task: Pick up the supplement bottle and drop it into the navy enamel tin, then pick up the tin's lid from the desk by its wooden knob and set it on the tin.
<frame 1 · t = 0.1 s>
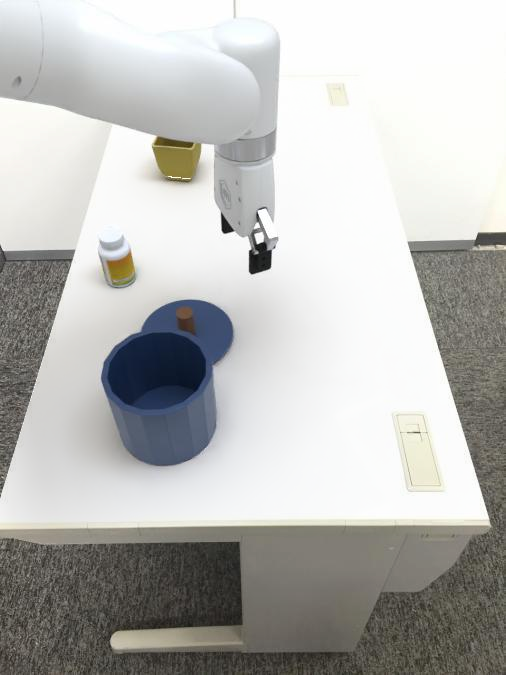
hand: (245, 250, 77), 15 cm above the table, tool pointing down, fingers open, 9 cm apart
tin lid: (187, 334, 86), point 1 cm above the table
supplement bottle: (121, 278, 95), on the table
tin: (168, 422, 75), on the table
flower pot: (181, 175, 117), on the table
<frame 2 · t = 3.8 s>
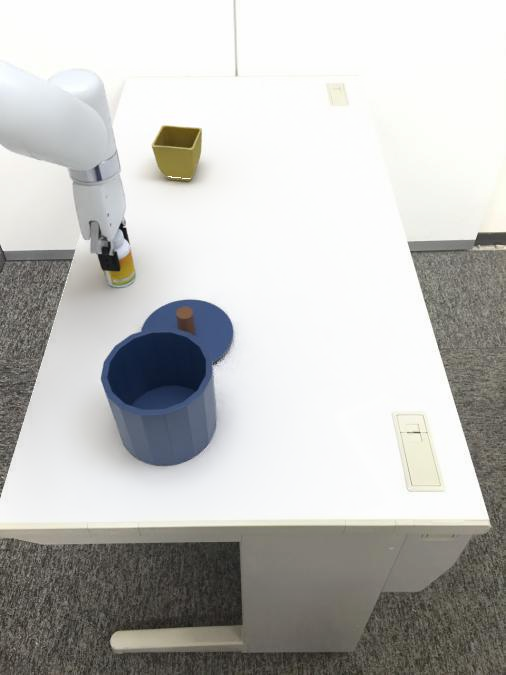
hand: (116, 257, 91), 5 cm above the table, tool pointing down, fingers closed on supplement bottle, 5 cm apart
supplement bottle: (121, 278, 95), on the table, touching gripper
everything else where it was.
when the fingers open (12 cm above the table, at t = 11.4 s): supplement bottle drops 7 cm, resting on tin.
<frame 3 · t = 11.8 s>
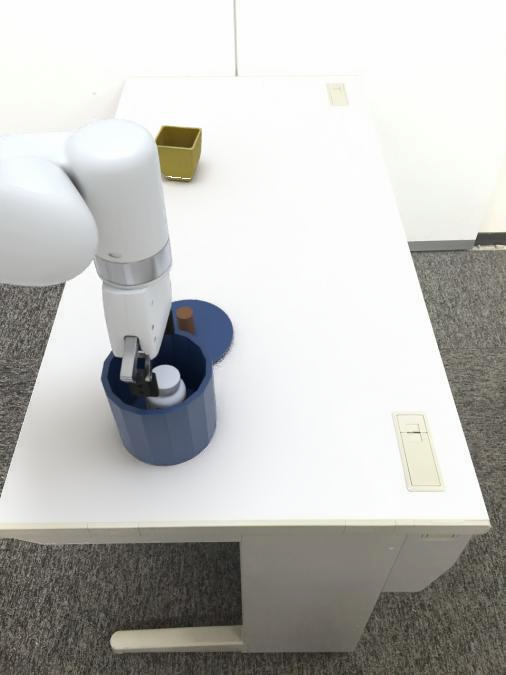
hand: (154, 361, 65), 14 cm above the table, tool pointing down, fingers open, 9 cm apart
supplement bottle: (167, 420, 75), point 1 cm above the table, touching tin
everything else where it was.
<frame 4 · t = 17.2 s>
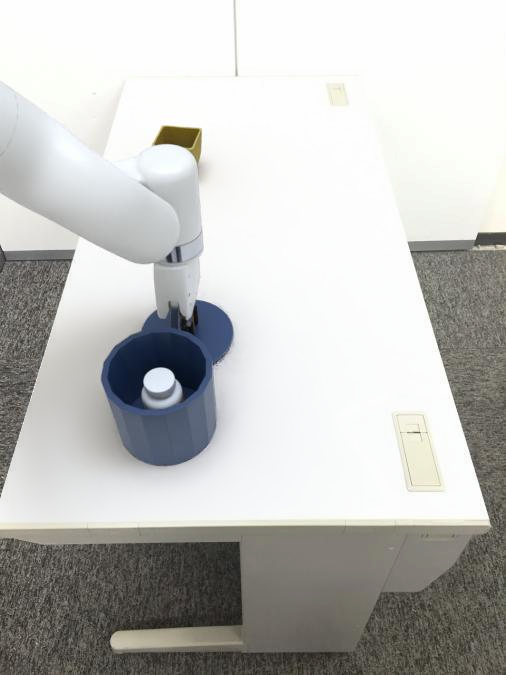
hand: (186, 330, 85), 2 cm above the table, tool pointing down, fingers closed on tin lid, 2 cm apart
tin lid: (187, 334, 86), point 1 cm above the table, touching gripper
everything else where it was.
when the fingers open (13 cm above the table, at t = 23.9 s): tin lid stays where it is, resting on tin.
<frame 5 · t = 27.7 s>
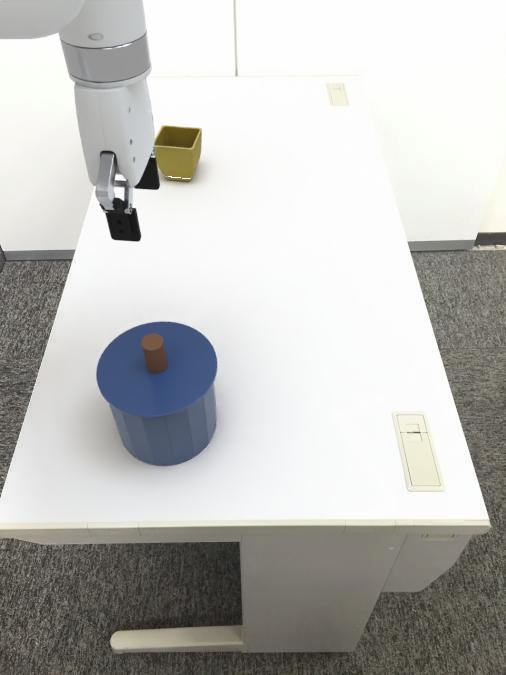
hand: (137, 212, 61), 28 cm above the table, tool pointing down, fingers open, 9 cm apart
tin lid: (157, 368, 66), point 12 cm above the table, touching tin
everything else where it was.
at the end: supplement bottle inside the target area in the tin (0.1 cm from its centre), point 0.3 cm above the tin's base; tin lid 0.1 cm off-centre on the tin, point 12.5 cm above the tin's base; tin lid tilted 0° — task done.
